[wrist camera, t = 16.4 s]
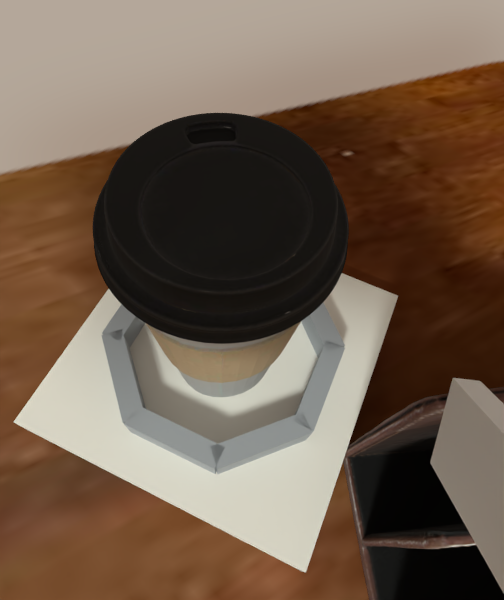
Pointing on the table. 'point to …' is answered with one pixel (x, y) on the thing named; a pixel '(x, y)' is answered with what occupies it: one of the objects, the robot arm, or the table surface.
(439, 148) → the table surface
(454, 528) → the letter holder
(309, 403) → the dock board
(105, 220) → the coffee cup
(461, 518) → the robot arm
